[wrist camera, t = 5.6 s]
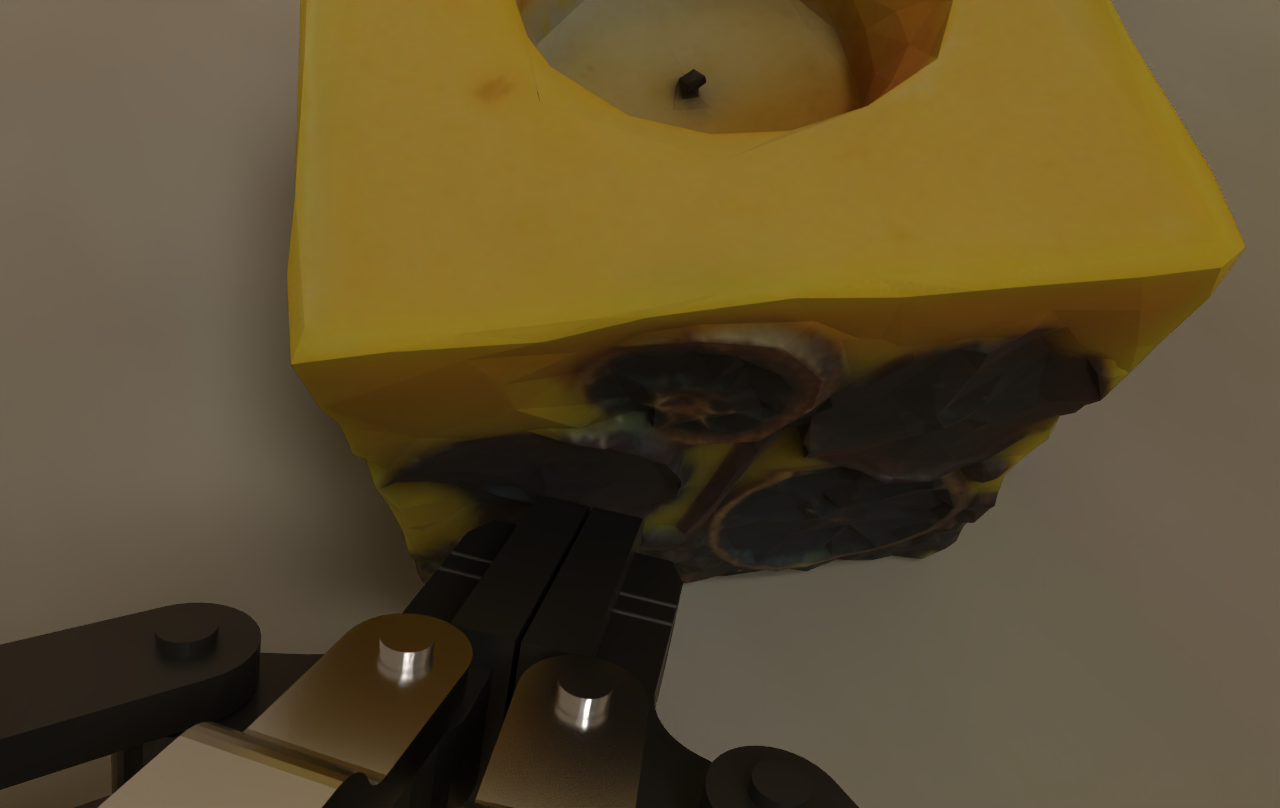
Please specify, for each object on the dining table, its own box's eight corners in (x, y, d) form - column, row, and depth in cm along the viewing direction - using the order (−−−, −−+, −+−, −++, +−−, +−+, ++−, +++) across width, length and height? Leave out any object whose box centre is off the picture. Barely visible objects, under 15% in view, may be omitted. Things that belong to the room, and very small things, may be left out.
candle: (423, 198, 22) (277, -263, 13) (840, 156, 22) (976, -312, 14) (438, 625, 17) (228, 371, 8) (959, 558, 18) (1280, 254, 9)
